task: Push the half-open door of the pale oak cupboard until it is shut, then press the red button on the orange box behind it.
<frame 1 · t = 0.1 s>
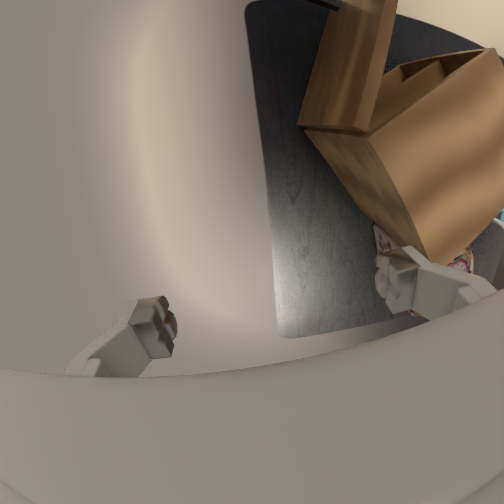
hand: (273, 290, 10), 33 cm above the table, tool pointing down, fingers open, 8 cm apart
door: (320, 35, 22), point 11 cm above the table, hinge at 35.0°
decorative jar: (400, 240, 46), on the table
cupboard: (383, 133, 37), on the table
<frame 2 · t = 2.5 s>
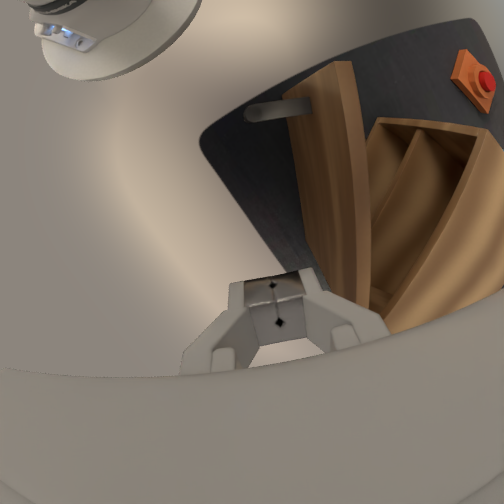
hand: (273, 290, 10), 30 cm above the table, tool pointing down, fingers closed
button box: (471, 81, 29), on the table
door: (294, 191, 27), point 11 cm above the table, hinge at 35.0°
button: (487, 81, 25), point 4 cm above the table, slide at 0.1 cm
cupboard: (385, 201, 40), on the table
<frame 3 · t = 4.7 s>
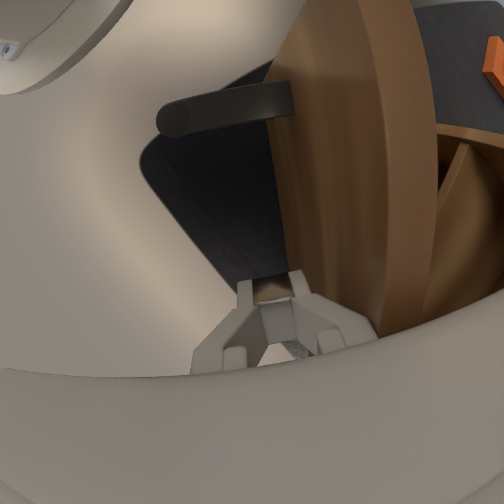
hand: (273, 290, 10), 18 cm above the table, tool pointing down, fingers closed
button box: (503, 76, 18), on the table
door: (264, 252, 17), point 11 cm above the table, hinge at 33.4°, touching gripper
cupboard: (400, 236, 29), on the table
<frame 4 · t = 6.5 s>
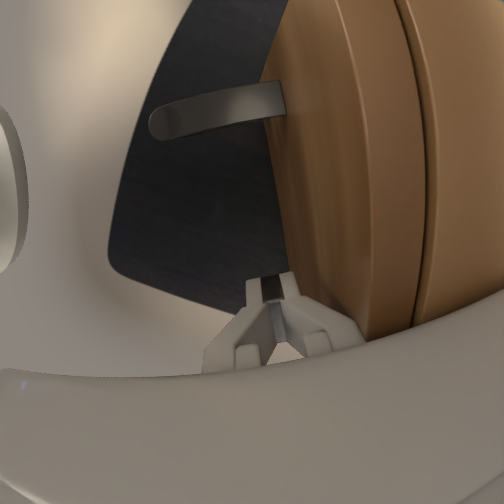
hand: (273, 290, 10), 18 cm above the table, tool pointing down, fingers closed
door: (261, 253, 17), point 11 cm above the table, hinge at -0.2°, touching gripper
cupboard: (366, 184, 26), on the table
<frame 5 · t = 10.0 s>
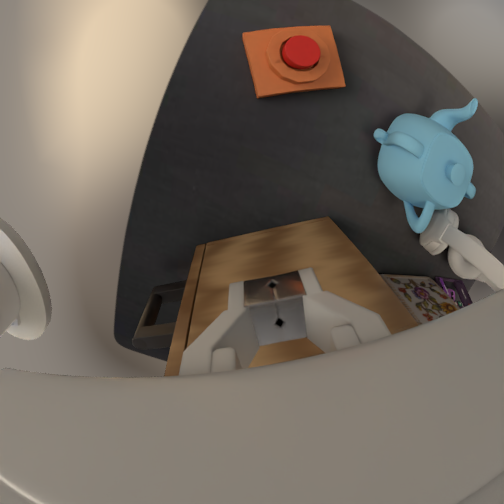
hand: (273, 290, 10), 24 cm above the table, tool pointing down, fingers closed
button box: (292, 61, 25), on the table
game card: (443, 288, 42), on the table
teapot: (407, 151, 31), on the table
door: (197, 369, 30), point 11 cm above the table, hinge at -0.2°
headphones: (440, 234, 37), on the table
button: (301, 52, 21), point 4 cm above the table, slide at 0.1 cm
decorative jar: (393, 302, 42), on the table
cupboard: (281, 297, 39), on the table
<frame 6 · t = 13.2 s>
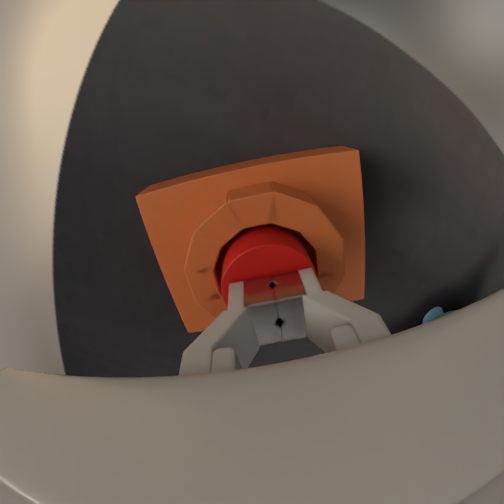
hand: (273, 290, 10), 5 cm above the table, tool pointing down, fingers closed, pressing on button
button box: (260, 235, 15), on the table
button: (267, 276, 11), point 4 cm above the table, slide at -0.1 cm, touching gripper
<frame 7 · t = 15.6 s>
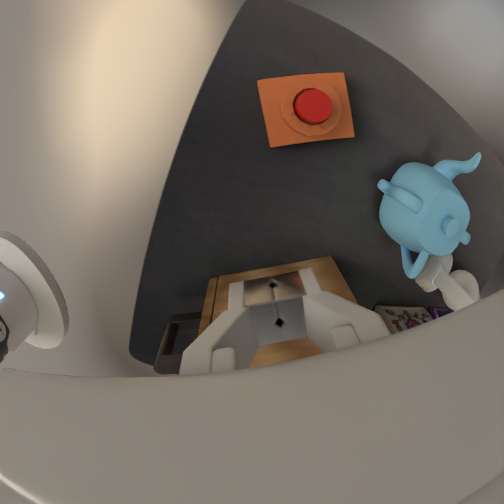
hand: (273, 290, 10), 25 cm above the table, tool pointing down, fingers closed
button box: (304, 108, 29), on the table
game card: (437, 316, 44), on the table
teapot: (409, 195, 34), on the table
door: (207, 388, 34), point 11 cm above the table, hinge at -0.2°
headphones: (436, 269, 39), on the table
button: (313, 106, 25), point 4 cm above the table, slide at 0.1 cm
decorative jar: (388, 328, 45), on the table
cupboard: (285, 324, 43), on the table
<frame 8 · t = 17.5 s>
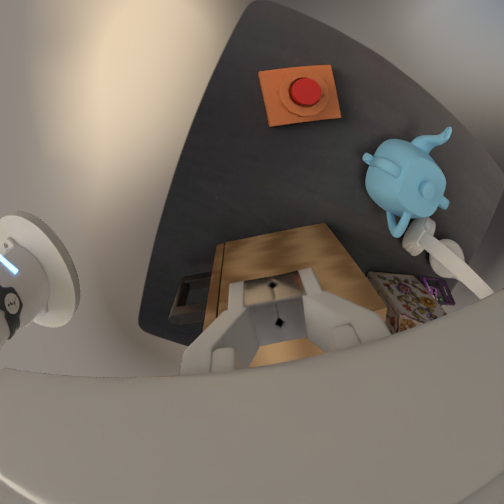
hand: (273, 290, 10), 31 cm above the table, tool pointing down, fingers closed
button box: (298, 95, 33), on the table
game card: (427, 286, 49), on the table
teapot: (392, 169, 39), on the table
door: (216, 345, 38), point 11 cm above the table, hinge at -0.2°
headphones: (422, 238, 44), on the table
button: (305, 91, 29), point 4 cm above the table, slide at 0.1 cm
decorative jar: (381, 296, 50), on the table
cupboard: (285, 289, 47), on the table
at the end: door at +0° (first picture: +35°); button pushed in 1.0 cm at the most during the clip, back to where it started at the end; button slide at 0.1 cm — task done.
